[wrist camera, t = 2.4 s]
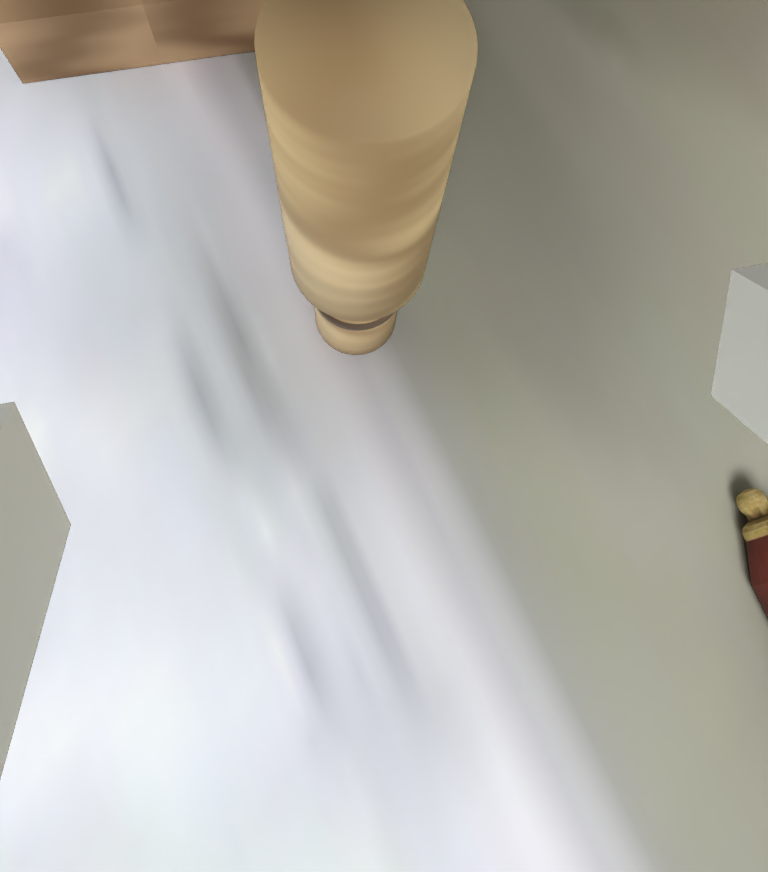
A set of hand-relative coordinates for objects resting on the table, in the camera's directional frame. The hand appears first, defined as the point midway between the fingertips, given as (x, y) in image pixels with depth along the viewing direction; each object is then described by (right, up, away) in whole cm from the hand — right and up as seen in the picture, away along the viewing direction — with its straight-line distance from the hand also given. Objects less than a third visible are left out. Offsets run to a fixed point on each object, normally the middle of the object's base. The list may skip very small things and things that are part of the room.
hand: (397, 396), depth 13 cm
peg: (-1, +4, +14) cm, 14 cm away
